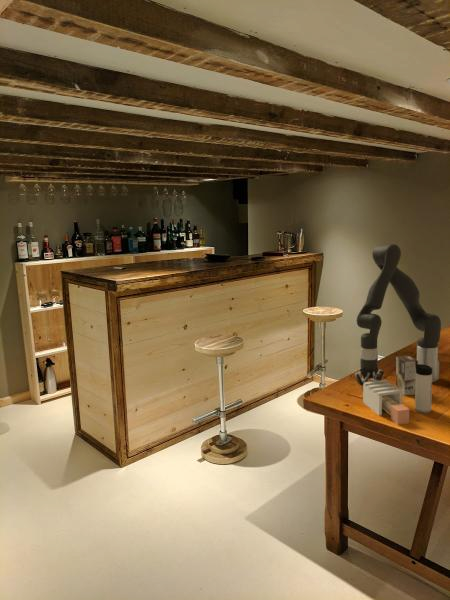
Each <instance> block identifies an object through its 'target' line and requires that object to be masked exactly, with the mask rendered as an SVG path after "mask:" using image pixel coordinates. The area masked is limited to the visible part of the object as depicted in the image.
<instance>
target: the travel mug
mask: <svg viewBox="0 0 450 600" xmlns="http://www.w3.org/2000/svg"><path fill="white" fill-rule="evenodd" d="M415 367H416V385H415V396H414V411H416V412H417V413H419V414H430V413H432V401H433V400H432V397H433V395H432V394H433V391H432V389H433V382H432V368H431V367H429V366H428V365H423V364H417V365H415Z"/></svg>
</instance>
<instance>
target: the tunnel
mask: <svg viewBox="0 0 450 600" xmlns="http://www.w3.org/2000/svg"><path fill="white" fill-rule="evenodd" d="M383 395H387V396H388V397H389V398H391V399H392V400H394V401H395V402H396V403H398V404H399V405H400V404H403V394H402V390H400V389H397V387H396V385H393V383H391V382H388V380H386V379H381V380H379V381H372V382H371V381H368V382H364V384H363V393H362V403H364V405H366V406H367V407H368V408H369V409H371V411H373V412H375V414H377V415H378V416H382V415H383V409H382V396H383Z"/></svg>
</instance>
